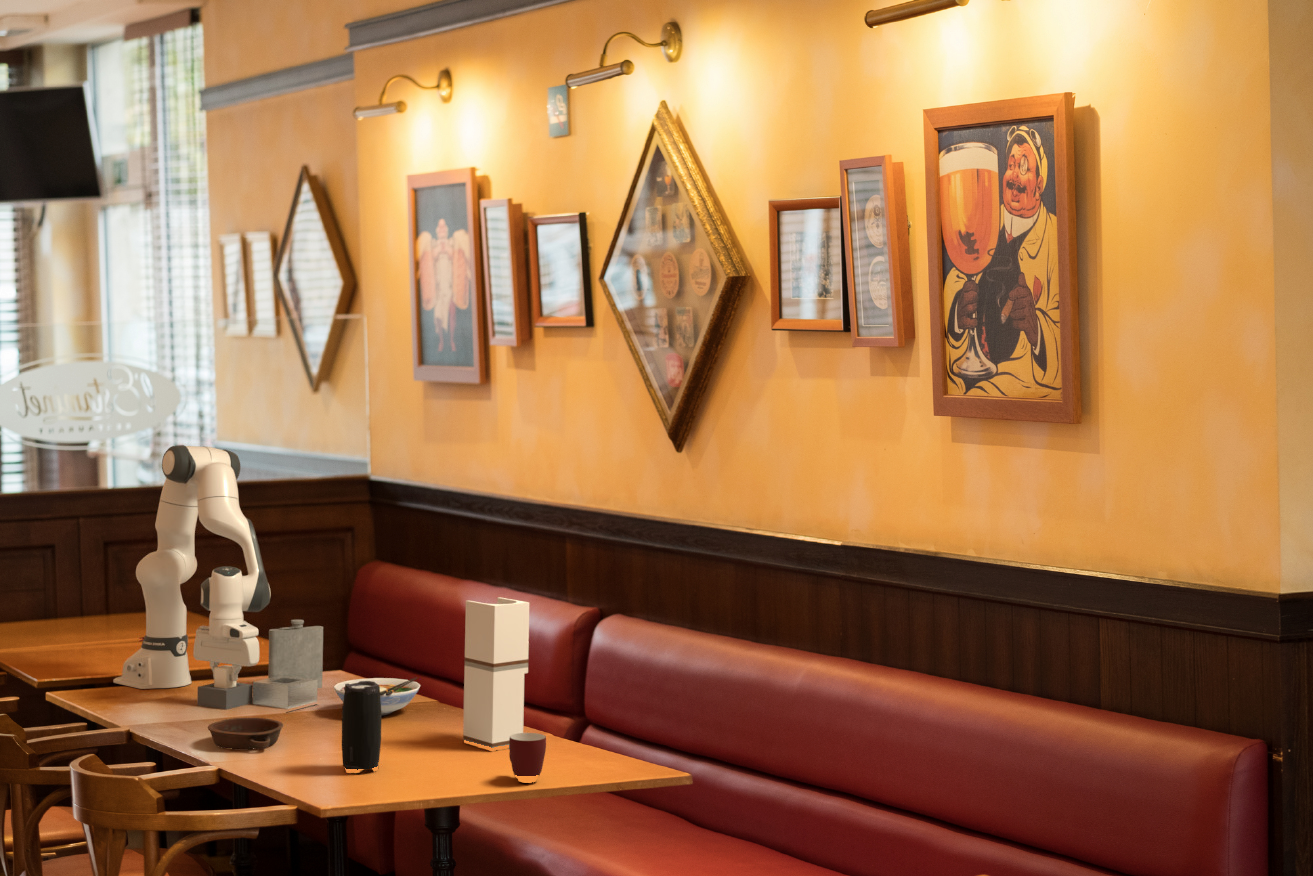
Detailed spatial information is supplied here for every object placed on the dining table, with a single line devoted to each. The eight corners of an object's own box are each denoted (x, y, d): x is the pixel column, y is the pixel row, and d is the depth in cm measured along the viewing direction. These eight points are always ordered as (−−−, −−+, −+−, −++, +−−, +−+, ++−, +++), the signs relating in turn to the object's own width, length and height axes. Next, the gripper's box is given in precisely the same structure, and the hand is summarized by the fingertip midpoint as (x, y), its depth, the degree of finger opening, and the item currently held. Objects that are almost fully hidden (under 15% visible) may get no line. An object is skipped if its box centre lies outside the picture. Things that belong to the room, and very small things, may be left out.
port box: (252, 707, 399) (252, 681, 399) (282, 700, 410) (282, 674, 410) (287, 712, 394) (288, 686, 394) (317, 705, 405) (317, 679, 404)
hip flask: (319, 685, 432) (320, 617, 431) (325, 688, 428) (326, 618, 428) (266, 690, 423) (267, 620, 422) (271, 693, 419) (272, 622, 419)
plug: (214, 704, 397) (214, 667, 397) (224, 702, 401) (225, 665, 401) (225, 706, 395) (226, 668, 395) (235, 703, 399) (236, 666, 399)
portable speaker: (363, 763, 341) (364, 678, 341) (388, 770, 335) (390, 684, 335) (332, 769, 335) (334, 683, 334) (358, 777, 329) (359, 689, 328)
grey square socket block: (197, 709, 396) (197, 686, 396) (223, 702, 405) (224, 680, 405) (226, 713, 391) (226, 690, 391) (252, 706, 400) (252, 684, 400)
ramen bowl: (355, 701, 410) (355, 672, 410) (433, 706, 406) (434, 676, 405) (316, 720, 386) (317, 688, 386) (399, 725, 381) (400, 694, 381)
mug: (493, 779, 330) (494, 734, 329) (521, 773, 335) (522, 729, 335) (525, 788, 322) (525, 742, 322) (552, 782, 328) (553, 737, 328)
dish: (225, 759, 343) (226, 737, 343) (194, 740, 361) (194, 720, 361) (297, 750, 354) (298, 729, 354) (263, 732, 372) (263, 712, 371)
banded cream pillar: (526, 745, 362) (529, 602, 362) (492, 752, 355) (494, 605, 354) (497, 737, 371) (500, 597, 370) (463, 743, 363) (465, 600, 362)
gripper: (188, 626, 399) (187, 677, 400) (247, 633, 390) (246, 685, 391) (205, 623, 405) (204, 673, 405) (263, 630, 396) (262, 681, 396)
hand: (225, 679), depth 398 cm, fingers open, 4 cm apart
